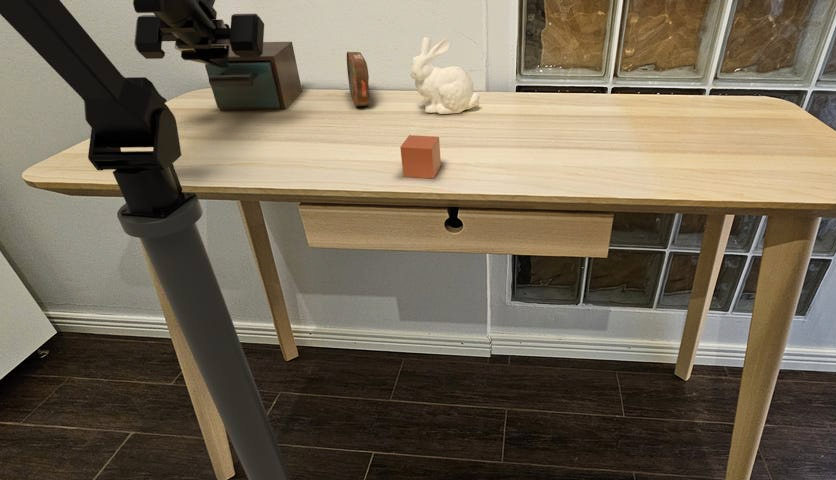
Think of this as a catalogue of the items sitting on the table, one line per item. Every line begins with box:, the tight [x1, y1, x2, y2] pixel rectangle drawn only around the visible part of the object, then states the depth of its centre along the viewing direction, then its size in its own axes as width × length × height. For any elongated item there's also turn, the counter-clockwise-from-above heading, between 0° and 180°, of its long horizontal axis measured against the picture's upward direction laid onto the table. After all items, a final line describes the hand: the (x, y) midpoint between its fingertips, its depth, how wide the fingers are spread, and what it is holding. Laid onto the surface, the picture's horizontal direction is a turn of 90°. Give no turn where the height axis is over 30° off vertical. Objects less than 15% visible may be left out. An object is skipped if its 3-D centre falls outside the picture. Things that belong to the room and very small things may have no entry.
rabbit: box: [410, 36, 480, 115], centre depth 97 cm, size 12×9×12 cm
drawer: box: [204, 61, 281, 109], centre depth 99 cm, size 15×11×8 cm
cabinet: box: [218, 41, 303, 111], centre depth 103 cm, size 12×13×10 cm
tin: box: [346, 51, 371, 108], centre depth 103 cm, size 15×3×8 cm, turn 17°
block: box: [399, 134, 442, 179], centre depth 76 cm, size 4×4×4 cm
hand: (226, 65), depth 91 cm, fingers closed
